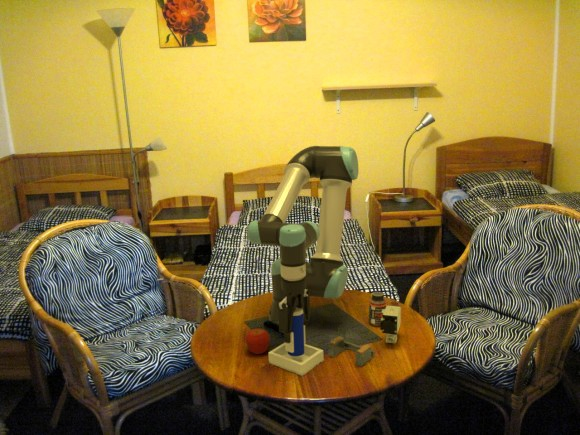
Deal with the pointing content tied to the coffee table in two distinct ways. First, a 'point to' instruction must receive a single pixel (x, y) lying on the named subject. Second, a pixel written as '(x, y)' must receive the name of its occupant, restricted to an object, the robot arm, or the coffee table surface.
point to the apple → (257, 340)
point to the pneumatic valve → (391, 322)
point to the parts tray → (296, 359)
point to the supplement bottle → (376, 308)
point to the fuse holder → (362, 352)
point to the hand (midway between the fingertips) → (295, 347)
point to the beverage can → (298, 333)
